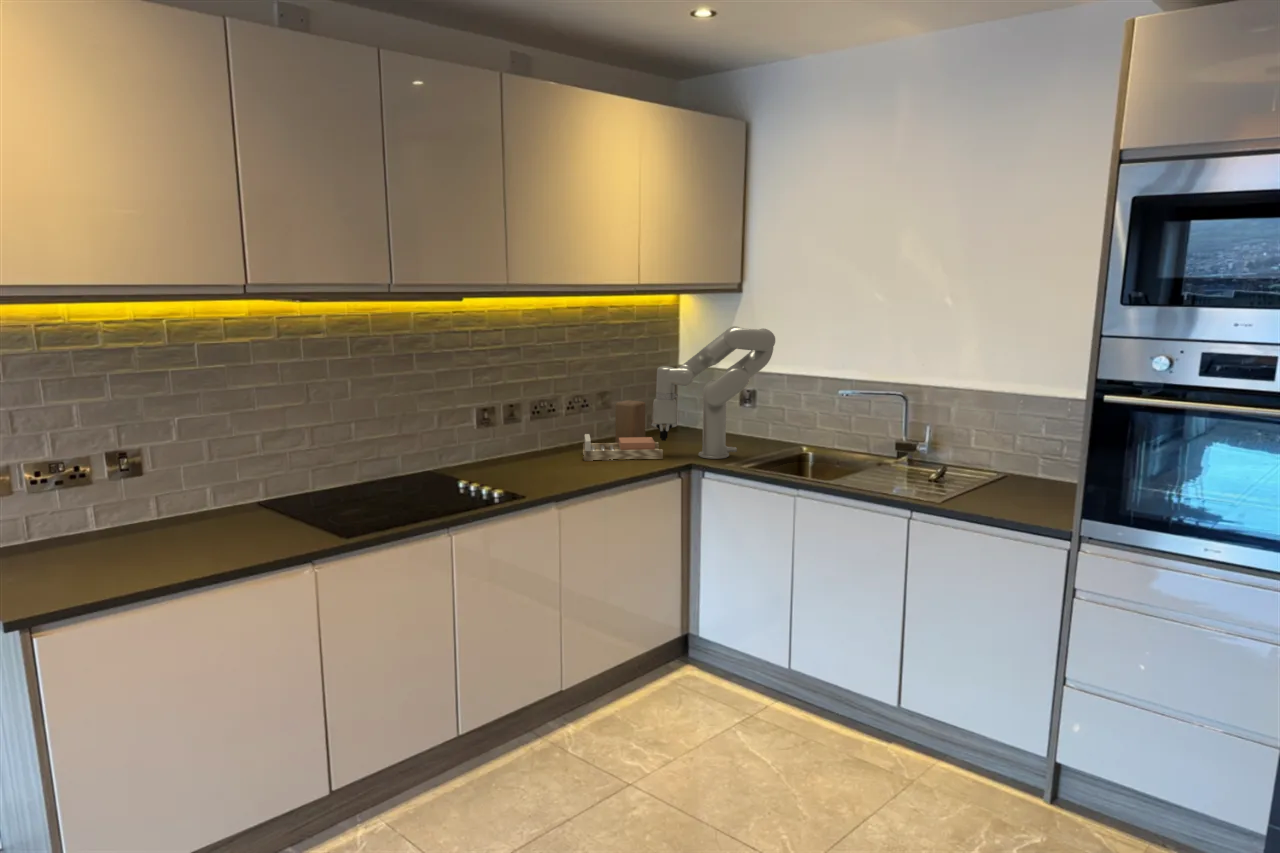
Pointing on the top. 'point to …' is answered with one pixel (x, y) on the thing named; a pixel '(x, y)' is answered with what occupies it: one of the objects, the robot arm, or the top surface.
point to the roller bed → (620, 453)
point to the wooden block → (630, 419)
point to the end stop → (587, 443)
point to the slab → (637, 443)
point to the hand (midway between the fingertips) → (663, 440)
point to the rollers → (603, 447)
